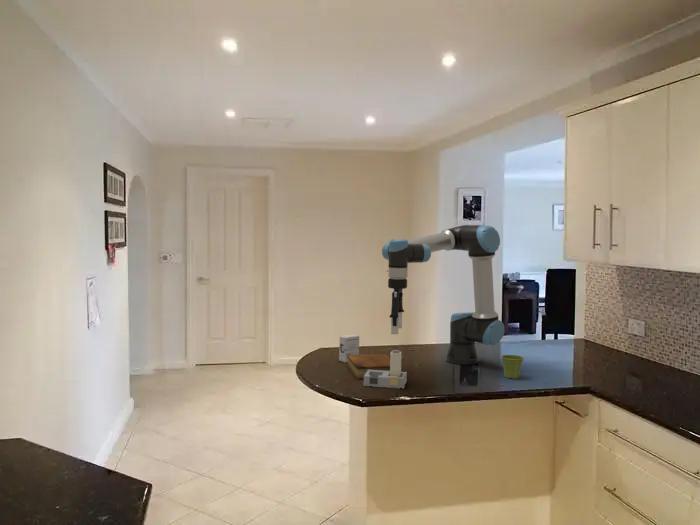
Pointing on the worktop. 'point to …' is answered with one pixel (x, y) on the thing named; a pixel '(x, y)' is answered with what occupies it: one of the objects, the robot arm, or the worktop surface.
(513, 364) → the plant pot
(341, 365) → the worktop surface
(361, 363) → the diary
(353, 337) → the ink box
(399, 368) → the plug
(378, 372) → the socket block
